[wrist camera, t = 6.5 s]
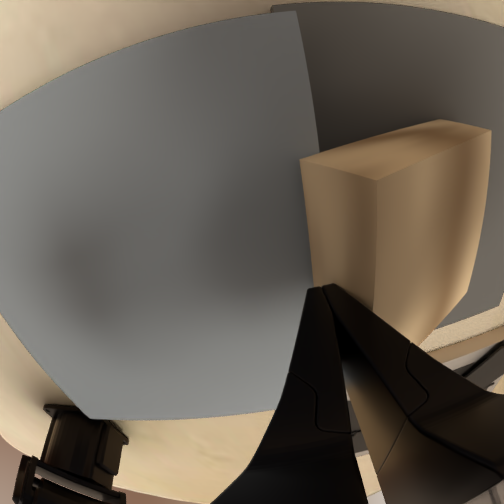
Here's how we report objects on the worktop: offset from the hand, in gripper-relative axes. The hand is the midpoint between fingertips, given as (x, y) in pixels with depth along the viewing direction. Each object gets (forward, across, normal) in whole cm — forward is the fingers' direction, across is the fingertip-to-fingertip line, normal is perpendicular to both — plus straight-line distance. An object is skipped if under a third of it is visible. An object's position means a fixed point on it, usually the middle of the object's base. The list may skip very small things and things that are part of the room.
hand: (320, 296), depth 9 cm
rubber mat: (+5, -8, 0) cm, 9 cm away
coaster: (+3, -4, 0) cm, 4 cm away
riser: (+5, +6, 0) cm, 8 cm away
